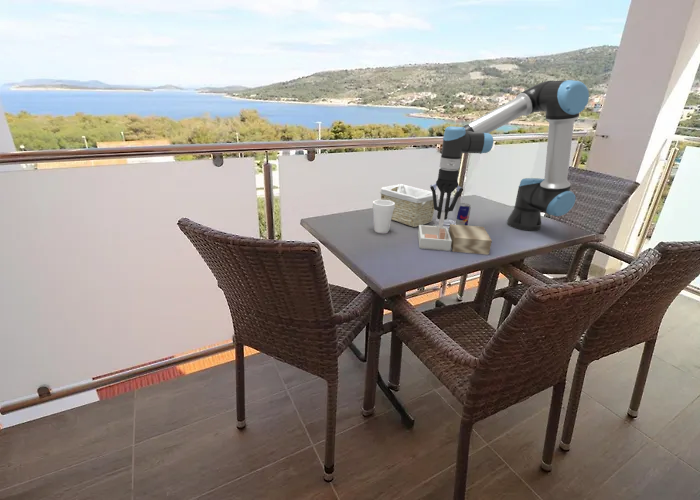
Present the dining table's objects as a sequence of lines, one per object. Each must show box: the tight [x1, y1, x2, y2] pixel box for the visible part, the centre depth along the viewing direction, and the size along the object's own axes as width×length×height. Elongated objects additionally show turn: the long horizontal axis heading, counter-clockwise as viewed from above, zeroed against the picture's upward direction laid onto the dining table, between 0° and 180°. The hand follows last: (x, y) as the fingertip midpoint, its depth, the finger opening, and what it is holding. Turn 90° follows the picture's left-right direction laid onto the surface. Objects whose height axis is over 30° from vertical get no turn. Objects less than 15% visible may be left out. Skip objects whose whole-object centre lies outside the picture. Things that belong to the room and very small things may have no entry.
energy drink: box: [455, 202, 472, 226], centre depth 169 cm, size 5×5×12 cm
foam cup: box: [372, 199, 395, 234], centre depth 163 cm, size 10×9×13 cm
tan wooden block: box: [448, 223, 493, 256], centre depth 153 cm, size 14×16×6 cm
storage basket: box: [379, 183, 439, 228], centre depth 180 cm, size 24×16×15 cm
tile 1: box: [425, 234, 438, 239], centre depth 155 cm, size 5×5×2 cm
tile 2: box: [438, 229, 445, 239], centre depth 154 cm, size 5×5×2 cm
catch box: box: [417, 224, 452, 252], centre depth 154 cm, size 12×16×4 cm
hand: (440, 226), depth 152 cm, fingers closed
